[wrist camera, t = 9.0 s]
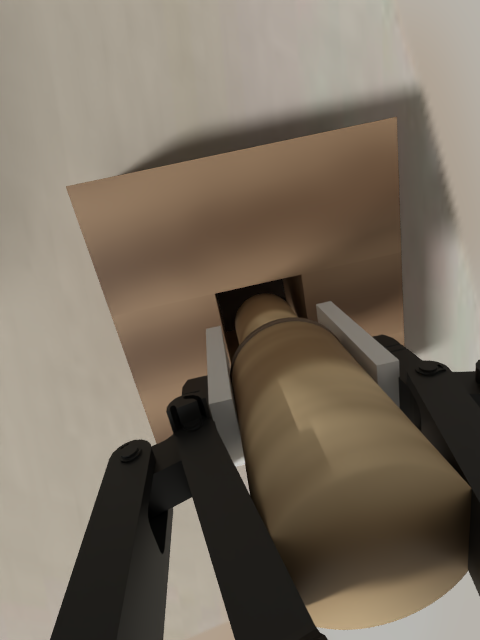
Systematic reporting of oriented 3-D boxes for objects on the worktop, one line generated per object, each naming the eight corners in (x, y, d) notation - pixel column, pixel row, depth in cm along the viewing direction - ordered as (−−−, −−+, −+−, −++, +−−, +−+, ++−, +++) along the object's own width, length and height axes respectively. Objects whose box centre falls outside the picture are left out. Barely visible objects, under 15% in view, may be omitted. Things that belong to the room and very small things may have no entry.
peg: (213, 290, 20) (239, 496, 7) (299, 271, 20) (495, 435, 7) (231, 367, 21) (280, 652, 8) (310, 349, 21) (482, 601, 8)
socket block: (99, 187, 22) (65, 186, 17) (348, 134, 23) (396, 116, 17) (174, 421, 29) (168, 477, 23) (367, 376, 29) (406, 421, 23)
